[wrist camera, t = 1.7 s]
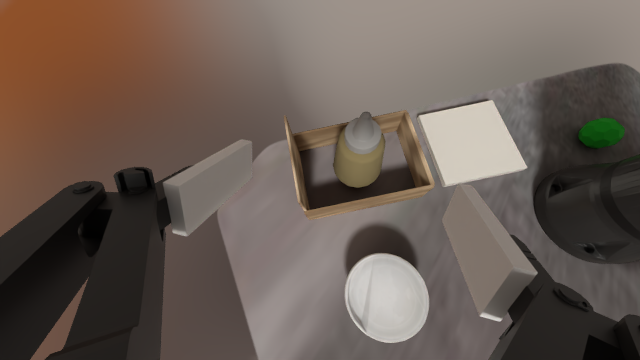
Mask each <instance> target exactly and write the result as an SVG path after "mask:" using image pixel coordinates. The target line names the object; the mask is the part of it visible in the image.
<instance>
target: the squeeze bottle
mask: <svg viewBox="0 0 640 360" xmlns="http://www.w3.org/2000/svg"><path fill="white" fill-rule="evenodd" d="M384 148H385V139H384V136H383V133H382V132H381V129H380V126H379V125H378V124H377V123H376V121H374V120H372V117H371V114H370V113H369V112H364V113H362V114H361V116H360V118H356V119H354V120H352V121H351V122H349V124H348V125H347V126H346V127H345V128H344V129H343V130H342V132H341V133H340V134H339V138H338V143H337V148H336V153H335V158H334V163H333V167H334V171H335V174H336V176H337V177H338V178H339V180H340V181H341V182H343V183H345V184H346V185H348V186H352V187H357V188H359V187H364V186H368V185H369V184H371V183H372V182H374V181H375V180H376V179H377V177H378V176H379V174H380V172H381V166H382V160H383V154H384Z"/></svg>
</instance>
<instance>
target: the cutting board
mask: <svg viewBox="0 0 640 360" xmlns="http://www.w3.org/2000/svg"><path fill="white" fill-rule="evenodd" d="M417 121H418V123H419V126H420V129H421V131H422V134H423V136H424V139H425V142H426V144H427V147H428V149H429V152H430V155H431V157H432V160H433V163H434V165H435V168H436V170H437V173H438V176H439V178H440V181H441V183H442V186H443V187H446V186H451V185H455V184H458V183H465V182H470V181H475V180H479V179H484V178H489V177H494V176H499V175H503V174H508V173H513V172H518V171H522V170H524V169H526V168H527V166H526V164H525V162H524V160H523V159H522V157H521V155H520V153H519V151H518V149H517V147H516V145H515V143H514V141H513V139H512V137H511V135H510V133H509V132H508V130H507V128H506V126H505V124H504V122H503V120H502V118H501V116H500V114H499V112H498V110H497V108H496V107H495V105H494V103H493V101H492V100H491V101H486V102H481V103H476V104H472V105H467V106H462V107H458V108H453V109H448V110H443V111H439V112H434V113H429V114H424V115H420V116H418V118H417Z"/></svg>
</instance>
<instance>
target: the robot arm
mask: <svg viewBox="0 0 640 360" xmlns="http://www.w3.org/2000/svg"><path fill="white" fill-rule="evenodd" d="M114 178H115V182H116V185H117V188H118V191H119V192H105V189H104V186H103V184H102V183H100V182H95V181H89V182H88V181H84V182H81V183H80V182H78V183H75V184H73V185H70V186H68V187H66V188H64V189H63V190H62V191H60V192H59V193H58V194H56V195H55V196H54V197H52V198H51V199H50V200H48V201H47V202H46V203H44V204H43V205H42V206H40V207H39V208H38V209H37V210H35V211H34V212H33V213H32V214H30V215H29V216H27V217H26V218H25V219H23V220H22V221H21V222H19V223H18V224H17V225H15V226H14V227H13V228H12V229H10V230H9V231H8V232H6V233H5V234H4V235H2V236H1V237H0V360H30V359H31V357H32V356H33V355H34V353H35V352H36V350H37V349H38V348H39V346H40V345H41V343H42V342H43V341H44V339H45V338H46V336H47V335H48V333H49V332H50V331H51V329H52V328H53V326H54V325H55V323H56V322H57V321H58V319H59V318H60V317H61V315H62V314H63V312H64V311H65V309H66V308H67V307H68V305H69V304H70V302H71V301H72V300H73V298H74V297H75V295H76V294H77V293H78V291H79V290H80V288H81V287H82V285H83V284H84V283H85V281H86V280H87V278H88V277H89V278H88V281H87V284H86V287H85V290H84V292H83V295H82V298H81V301H80V304H79V307H78V309H77V313H76V315H75V318H74V321H73V324H72V326H71V329H70V332H69V335H68V338H67V341H66V344H65V345H64V347H63V349H62V350H61V351H58V352H55V353H52V354H50V355H49V356H48V357H47V358H46V359H45V360H160V348H161V326H162V305H163V282H164V260H165V238H166V233H165V227H166V226H167V225H169V224H170V223H171V226H172V231H173V233H176V234H179V235H183V236H188V235H189V234H191V233H192V231H194V230H195V229H196V228H197V227H198V226H199V225H201V224H202V223H203V222H204V221H205V220H206V219H207V218H208V217H209V216H211V215H212V214H213V213H214V212H215V211H216V210H217V209H218V208H219V207H221V206H222V205H223V204H224V203H225V202H226V201H227V200H228V199H229V198H230V197H232V196H233V195H234V194H235V193H236V192H237V191H238V190H239V189H240V188H242V187H243V186H244V185H245V184H246V183H247V182H248V181H249V180H250V179H252V141H247V140H242V139H241V140H239V141H237V142H235V143H234V144H232V145H230V146H228V147H226V148H224V149H223V150H221V151H219V152H217V153H215V154H214V155H212V156H210V157H208V158H206V159H205V160H203V161H201V162H199V163H197V164H195V165H192V166H188V167H185V168H183V169H181V170H179V171H178V172H176V173H174V174H172V175H171V176H168V177H166V178H164V179H163V180H161V181H159V182H157V183H154V178H153V174H152V171H151V170H150V169H149V168H144V167H134V168H127V169H123V170H120V171H118V172H116V173H115V174H114ZM535 211H536V215H537V218H538V221H539V223H540V225H541V227H542V228H543V230H544V231H545V233H546V234H547V235H548V236H549V238H550V239H551V240H552V241H553V242H554V243H555V244H556V245H558V246H559V247H560V248H561V249H563V250H564V251H566V252H567V253H569V254H571V255H573V256H575V257H577V258H579V259H582V260H585V261H588V262H593V263H601V264H622V263H630V262H634V261H637V260H640V154H639V155H637V156H634V157H631V158H628V159H625V160H622V161H620V162H617V163H605V164H592V165H579V166H573V167H569V168H566V169H563V170H561V171H558V172H556V173H553V174H551V175H549V176H548V177H547V178H545V179H544V180H543V181H542V182H541V184H540V185H539V187H538V189H537V191H536V195H535ZM442 222H443V225H444V227H445V230H446V232H447V235H448V237H449V240H450V242H451V245H452V247H453V250H454V252H455V255H456V258H457V260H458V263H459V265H460V268H461V270H462V273H463V275H464V278H465V280H466V283H467V285H468V288H469V290H470V293H471V296H472V298H473V301H474V303H475V306H476V308H477V311H478V313H479V316H481V317H485V318H488V319H492V320H496V321H501V320H502V319H503V317H504V316H505V315H506V313H507V312H508V313H509V315H510V317H511V319H512V321H513V322H512V323H511V324H510V326H509V327H508V328H507V329H506V331H505V332H504V333H503V334H502V336H501V337H500V338H499V339H500V342H499V343H498V345H497V346H496V348H495V350H494V351H493V353H492V354H491V356H490V358H489V359H488V360H640V316H636V315H630V314H629V315H627V316H625V317H624V318H622V319H621V320H620V321H619V322H617V321H615V320H612V319H610V318H608V317H605V316H603V315H601V314H598V313H596V312H594V311H593V307H592V306H591V305H590V303H589V302H588V301H587V300H586V299H585V298H584V297H582V296H581V295H580V294H579V293H577V292H575V291H574V290H572V289H571V288H569V287H567V286H565V285H563V284H560V283H556V282H555V281H554V280H553V279H552V278H551V276H550V275H549V274H548V273H547V271H546V270H545V269H544V268H543V266H542V265H541V264H540V263H539V261H536V258H535V256H534V255H533V254H531V251H530V250H529V249H528V248H527V246H526V245H525V244H524V243H523V242H521V241H520V240H519V239H518V238H516V237H515V236H514V235H510V234H508V232H507V231H506V230H505V228H504V227H503V226H502V224H501V223H500V222H499V220H498V219H497V218H496V216H495V215H494V214H493V213H492V211H491V210H490V209H489V207H488V206H487V205H486V203H485V202H484V201H483V199H482V198H481V197H480V195H479V194H478V193H477V191H476V190H475V189H474V187H473V186H471V185H466V184H461V183H458V185H457V188H456V190H455V192H454V194H453V197H452V199H451V201H450V203H449V206H448V208H447V210H446V212H445V215H444V217H443V219H442Z"/></svg>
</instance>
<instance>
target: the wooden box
mask: <svg viewBox="0 0 640 360" xmlns="http://www.w3.org/2000/svg"><path fill="white" fill-rule="evenodd" d="M372 120H374V121H376V123H377V124H378V125H379V126H380V129H381V132H382V133H388V132H393V131H397V134H398V137H399V140H400V143H401V146H402V149H403V152H404V155H405V157H406V160H407V163H408V166H409V169H410V172H411V175H412V178H413V181H414V184H415V187H416V188H413V189H408V190H404V191H399V192H394V193H389V194H385V195H380V196H375V197H370V198H365V199H361V200H356V201H351V202H346V203H341V204H337V205H332V206H327V207H322V208H317V209H313V210H310V208H309V202H308V197H307V191H306V186H305V180H304V175H303V169H302V164H301V159H300V153H299V151H303V150H308V149H312V148H317V147H322V146H327V145H331V144H336V143H338V138H339V134H340V133H341V132H342V130H343V129H344V128H345V127H346V126H347V125H348V124H349V122H347V123H342V124H338V125H333V126H328V127H323V128H319V129H314V130H309V131H305V132H300V133H295V134H292V132H291V129H290V126H289V123H288V121H287V118H286V116H284V121H285V127H286V133H287V139H288V145H289V151H290V157H291V163H292V169H293V175H294V180H295V186H296V192H297V198H298V203H299V204H300V205H301V207H302V208H303V210H304V212H305V215H306V216H307V218H308V219H309V220H313V219H317V218H322V217H327V216H332V215H337V214H341V213H346V212H351V211H356V210H361V209H365V208H370V207H375V206H380V205H385V204H389V203H394V202H399V201H404V200H409V199H413V198H418V197H422V196H423V195H424V194H426V193H427V192H428V191H430V190H431V189H432V188H433V187H434V185H435V183H434V180H433V178H432V175H431V172H430V170H429V167H428V164H427V162H426V159H425V156H424V153H423V151H422V148H421V145H420V143H419V140H418V137H417V135H416V132H415V129H414V127H413V124H412V121H411V119H410V116H409V113H408V112H407V111H406V110H404V111H399V112H394V113H389V114H385V115H381V116H375V117H372Z"/></svg>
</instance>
